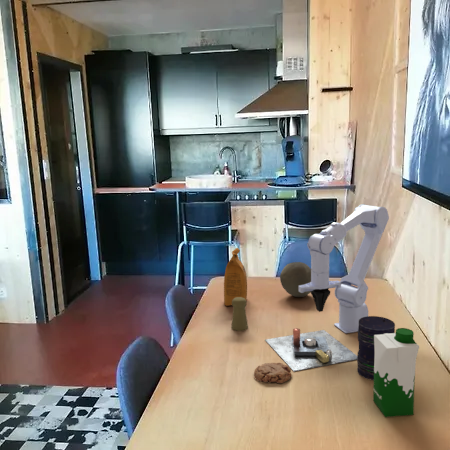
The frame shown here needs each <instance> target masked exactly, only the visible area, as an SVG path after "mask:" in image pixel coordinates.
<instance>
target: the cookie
mask: <svg viewBox="0 0 450 450" xmlns="http://www.w3.org/2000/svg"><path fill="white" fill-rule="evenodd" d="M253 371H254V372H253V377H254V379H255V380H257V381H258V382H263V383H274V382H276V383H277V384H283V383H285V382H287V381H289V380H290V379H291V378H292V376H293V375H292V372H291V371H292V369H291V368H290V367H289V366H288V365H287V364H284V363H282V362H267V363H263V364H261V365H257V366H256V368H255V369H254V370H253Z"/></svg>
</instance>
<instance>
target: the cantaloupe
mask: <svg viewBox="0 0 450 450" xmlns="http://www.w3.org/2000/svg"><path fill="white" fill-rule="evenodd" d="M279 280H280V283H281V284H280V285H281V287H282V288H283V289H284V291H286V293H288V294H289V295H291V296H293V297H295V298H302V297H306V296H308V295H309V294H311V292H310V291H307V292H304V293H301V292H299V285H304V284H307V283H310V282H311V266H309V265H308V264H306V263H305V262H301V261H294V262H290V263H287V264H286V265H285V266H284V267H283V268H282V270H281V273H280V275H279Z"/></svg>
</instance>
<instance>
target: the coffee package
mask: <svg viewBox="0 0 450 450" xmlns="http://www.w3.org/2000/svg"><path fill="white" fill-rule="evenodd" d="M240 252H241V250H240V248H238V247H236V248H235V249H233V251H231V254H232V256H231V258H230V260H229V261H228V262H227V264H226V266H225V270H224V271H225V272H224V276H223V277H224V278H223V279H224V280H223V302H224V306H225V307H228V306H229V307H230V306H232V300H233V299H234V298H236V297H242V298H245V300H246V301H247V298H248V279H247V277H248V276H247V273H246V268H245V266H244V265H243V263H242V261H241V260H240V258H239V255H238V254H239V253H240Z"/></svg>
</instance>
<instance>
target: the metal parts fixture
mask: <svg viewBox="0 0 450 450" xmlns="http://www.w3.org/2000/svg"><path fill="white" fill-rule="evenodd" d="M300 334H301V329H300V328H297V327H296V328H293V329H292V335H293V337H292V344H293V350H294V355H310V356H316V357H317V358H318V359H319V360H320V361H321V362H322V363H324V362H329V356H327V355H326V351H327V350H329V347H328V344H327V341H326V338H325V337H313V338H315V339H316V344H317V346H318V347H303V344H305V338H307V337H300Z"/></svg>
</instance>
